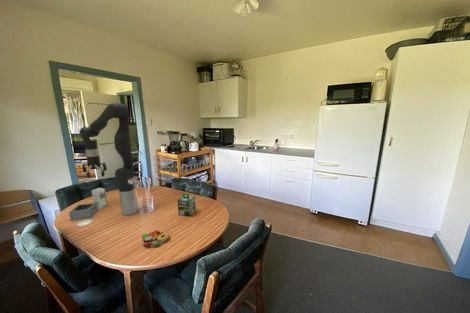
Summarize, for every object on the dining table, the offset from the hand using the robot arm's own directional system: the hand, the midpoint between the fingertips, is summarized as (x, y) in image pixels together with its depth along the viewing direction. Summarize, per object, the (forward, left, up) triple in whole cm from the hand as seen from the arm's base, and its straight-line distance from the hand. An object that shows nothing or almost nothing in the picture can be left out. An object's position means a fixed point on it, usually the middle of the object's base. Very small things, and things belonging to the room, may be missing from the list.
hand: (96, 177), depth 141 cm
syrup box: (0, 0, -24) cm, 24 cm away
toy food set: (-45, +54, -24) cm, 74 cm away
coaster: (+1, +23, -24) cm, 33 cm away
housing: (+6, +11, -24) cm, 27 cm away
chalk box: (-63, +27, -24) cm, 73 cm away
